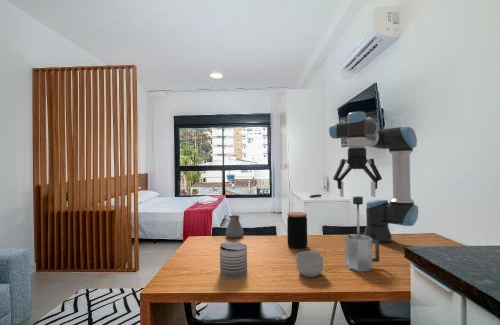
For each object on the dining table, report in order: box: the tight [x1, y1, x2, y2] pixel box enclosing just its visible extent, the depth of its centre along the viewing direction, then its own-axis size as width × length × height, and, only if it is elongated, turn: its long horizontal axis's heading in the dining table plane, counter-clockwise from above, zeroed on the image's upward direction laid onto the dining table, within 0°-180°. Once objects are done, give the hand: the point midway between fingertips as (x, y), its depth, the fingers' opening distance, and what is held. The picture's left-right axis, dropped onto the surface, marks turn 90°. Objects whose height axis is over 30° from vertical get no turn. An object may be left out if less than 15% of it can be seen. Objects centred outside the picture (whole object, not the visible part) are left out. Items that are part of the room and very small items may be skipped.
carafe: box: [344, 233, 380, 273], centre depth 122 cm, size 14×10×13 cm
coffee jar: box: [286, 211, 308, 250], centre depth 153 cm, size 11×11×18 cm
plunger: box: [352, 196, 364, 240], centre depth 122 cm, size 8×8×20 cm
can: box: [219, 241, 248, 279], centre depth 117 cm, size 11×11×12 cm
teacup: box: [295, 250, 324, 278], centre depth 116 cm, size 14×11×8 cm
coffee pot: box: [224, 214, 245, 239], centre depth 171 cm, size 21×12×15 cm, turn 12°
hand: (357, 196), depth 122 cm, fingers open, 13 cm apart
